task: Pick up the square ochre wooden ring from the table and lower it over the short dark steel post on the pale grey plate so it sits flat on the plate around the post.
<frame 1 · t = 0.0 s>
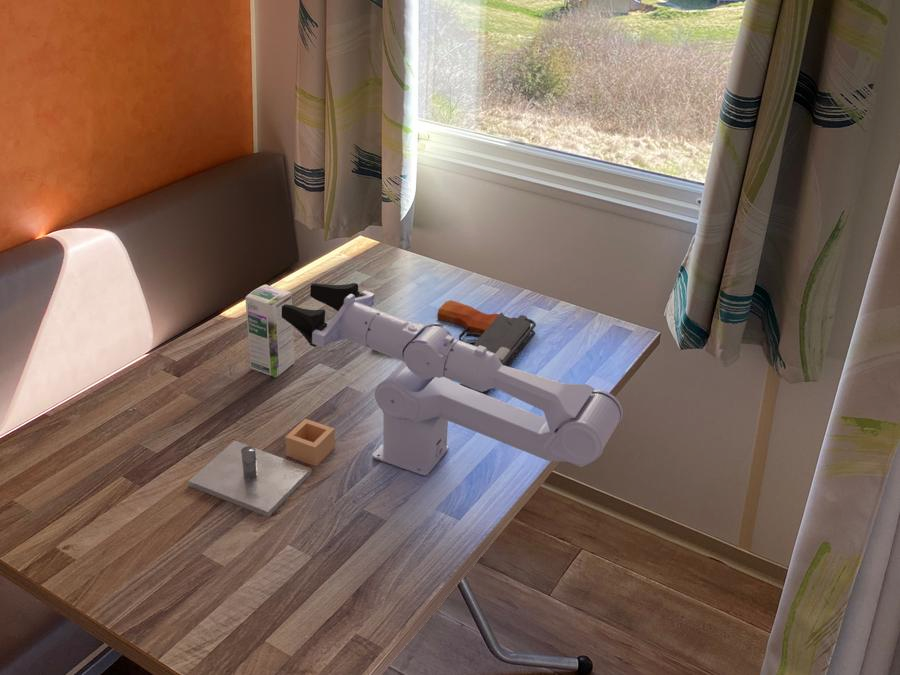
hand: (297, 300, 147), 22 cm above the table, fingers open, 7 cm apart
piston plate: (250, 479, 145), on the table
syrup box: (272, 367, 171), on the table
ring: (310, 451, 151), on the table
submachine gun: (443, 355, 177), on the table
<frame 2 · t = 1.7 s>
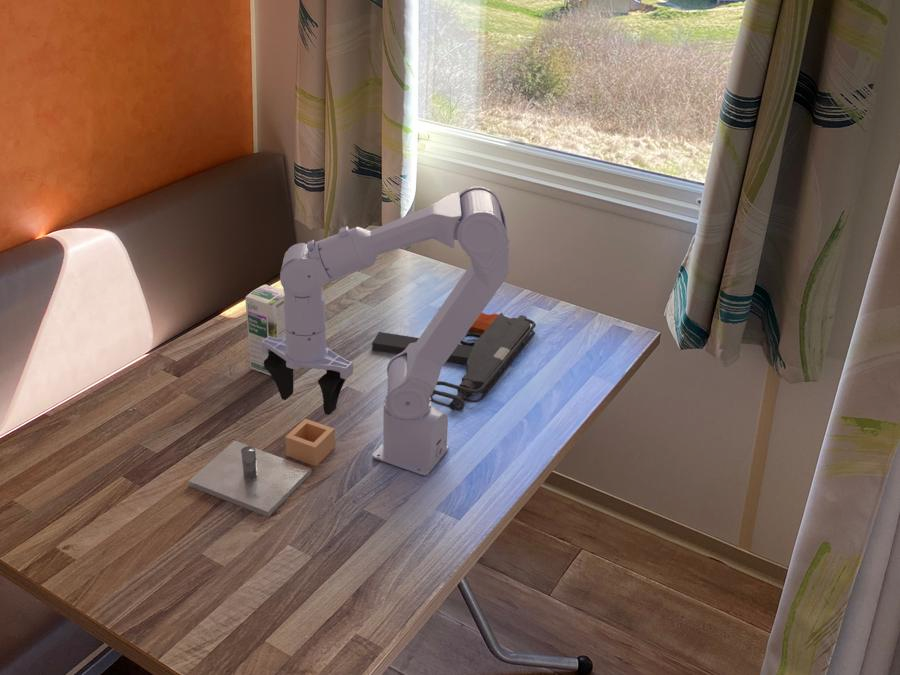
hand: (308, 403, 146), 9 cm above the table, fingers open, 7 cm apart
nothing on the table moved.
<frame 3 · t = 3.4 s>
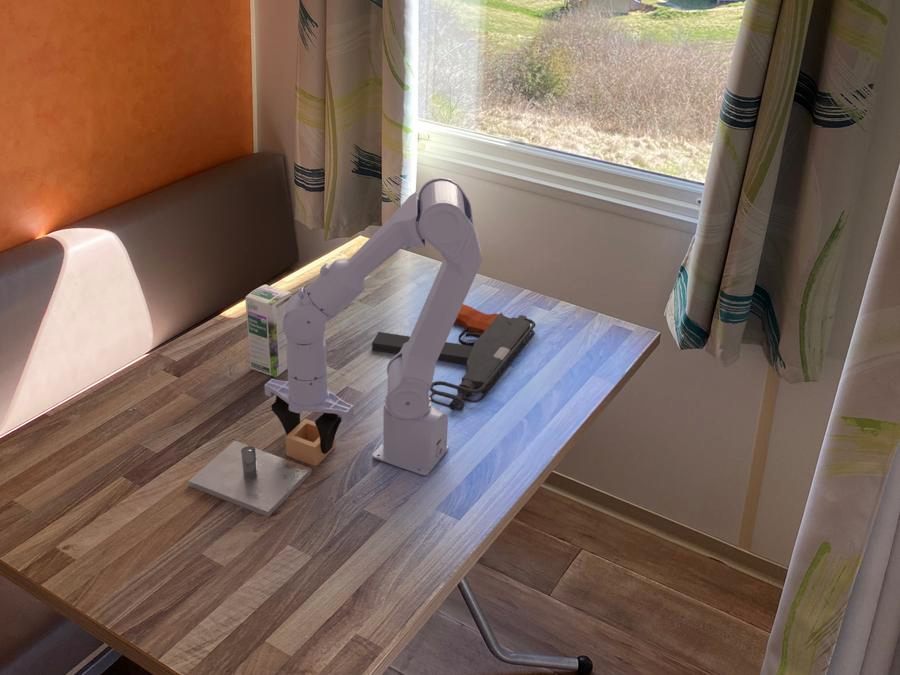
hand: (310, 444, 150), 1 cm above the table, fingers closed on ring, 5 cm apart
ring: (310, 451, 151), on the table, touching gripper
everything else where it was.
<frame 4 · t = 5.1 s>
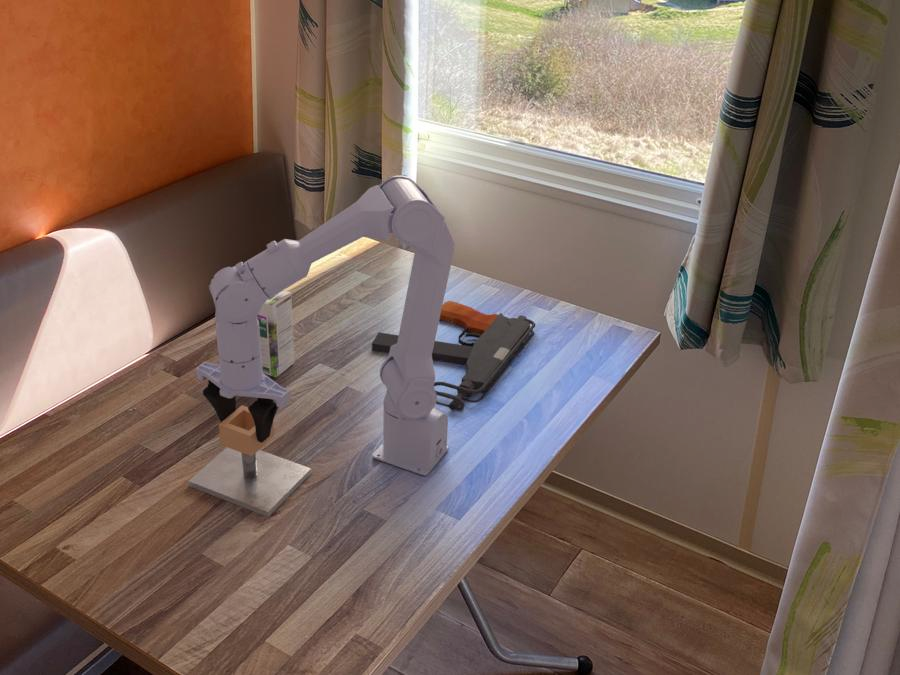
hand: (246, 432, 140), 9 cm above the table, fingers closed on ring, 5 cm apart
ring: (247, 440, 141), point 7 cm above the table, touching gripper
everything else where it was.
when the fingers open (4 cm above the table, at t = 6.8 s): ring drops 2 cm, resting on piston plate.
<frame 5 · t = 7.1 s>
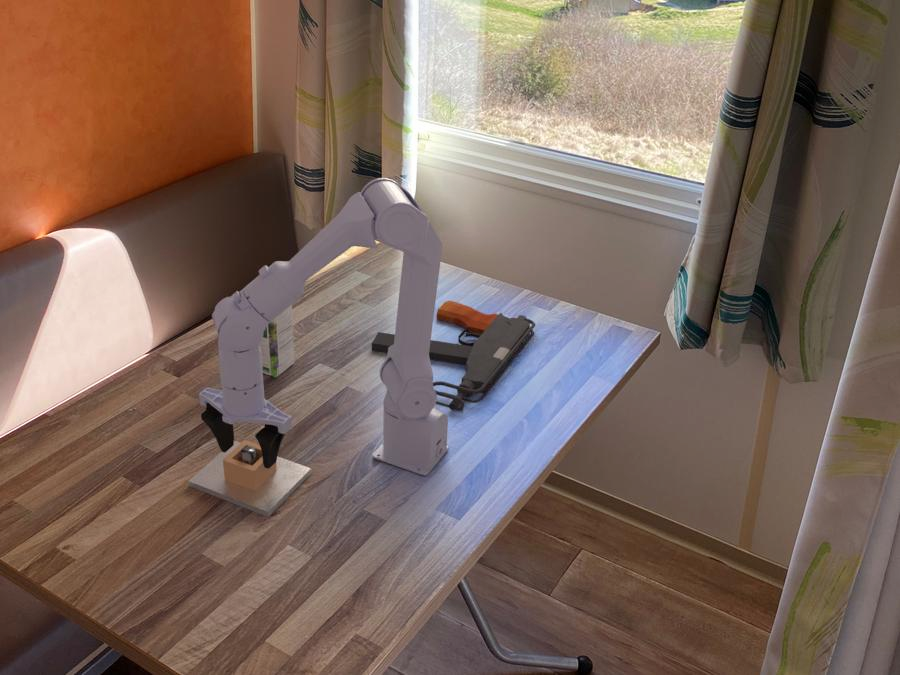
hand: (248, 456, 142), 4 cm above the table, fingers open, 7 cm apart
ring: (250, 474, 144), point 1 cm above the table, touching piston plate
everything else where it was.
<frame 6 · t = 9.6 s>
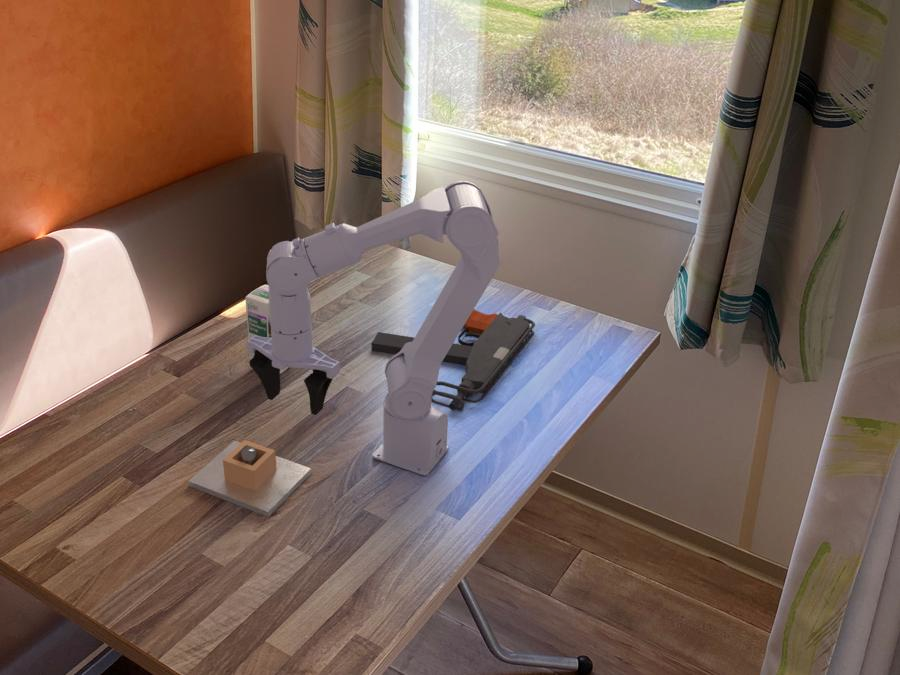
hand: (295, 403, 145), 10 cm above the table, fingers open, 7 cm apart
nothing on the table moved.
at the end: ring 0.1 cm off-centre on the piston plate, point 1.0 cm above the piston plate's base; the gripper is holding nothing; ring tilted 0° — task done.
